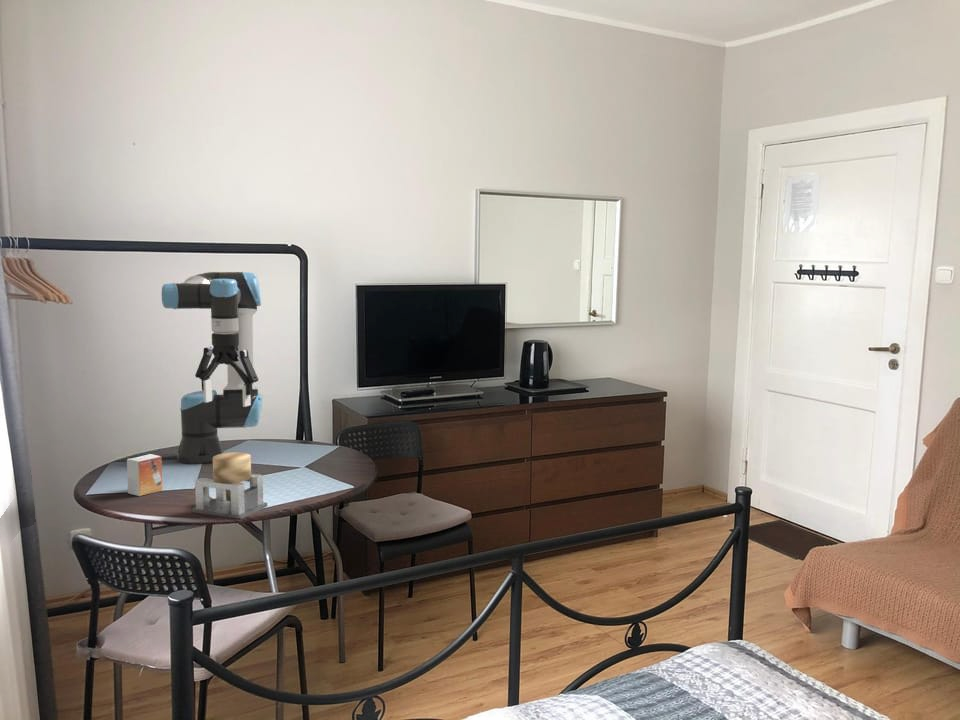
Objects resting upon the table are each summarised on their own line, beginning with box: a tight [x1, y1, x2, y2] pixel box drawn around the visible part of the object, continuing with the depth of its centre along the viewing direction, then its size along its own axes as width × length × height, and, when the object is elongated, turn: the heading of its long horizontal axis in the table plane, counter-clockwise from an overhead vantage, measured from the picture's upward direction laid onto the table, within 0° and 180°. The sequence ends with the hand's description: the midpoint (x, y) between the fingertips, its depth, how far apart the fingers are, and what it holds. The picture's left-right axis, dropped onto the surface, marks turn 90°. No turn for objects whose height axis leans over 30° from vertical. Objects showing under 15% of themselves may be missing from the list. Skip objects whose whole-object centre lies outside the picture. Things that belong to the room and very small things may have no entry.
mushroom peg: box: [212, 451, 252, 501], centre depth 216 cm, size 10×10×12 cm
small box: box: [126, 453, 163, 497], centre depth 232 cm, size 8×6×10 cm
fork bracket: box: [191, 473, 268, 520], centre depth 217 cm, size 16×12×9 cm
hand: (227, 403), depth 232 cm, fingers open, 13 cm apart
